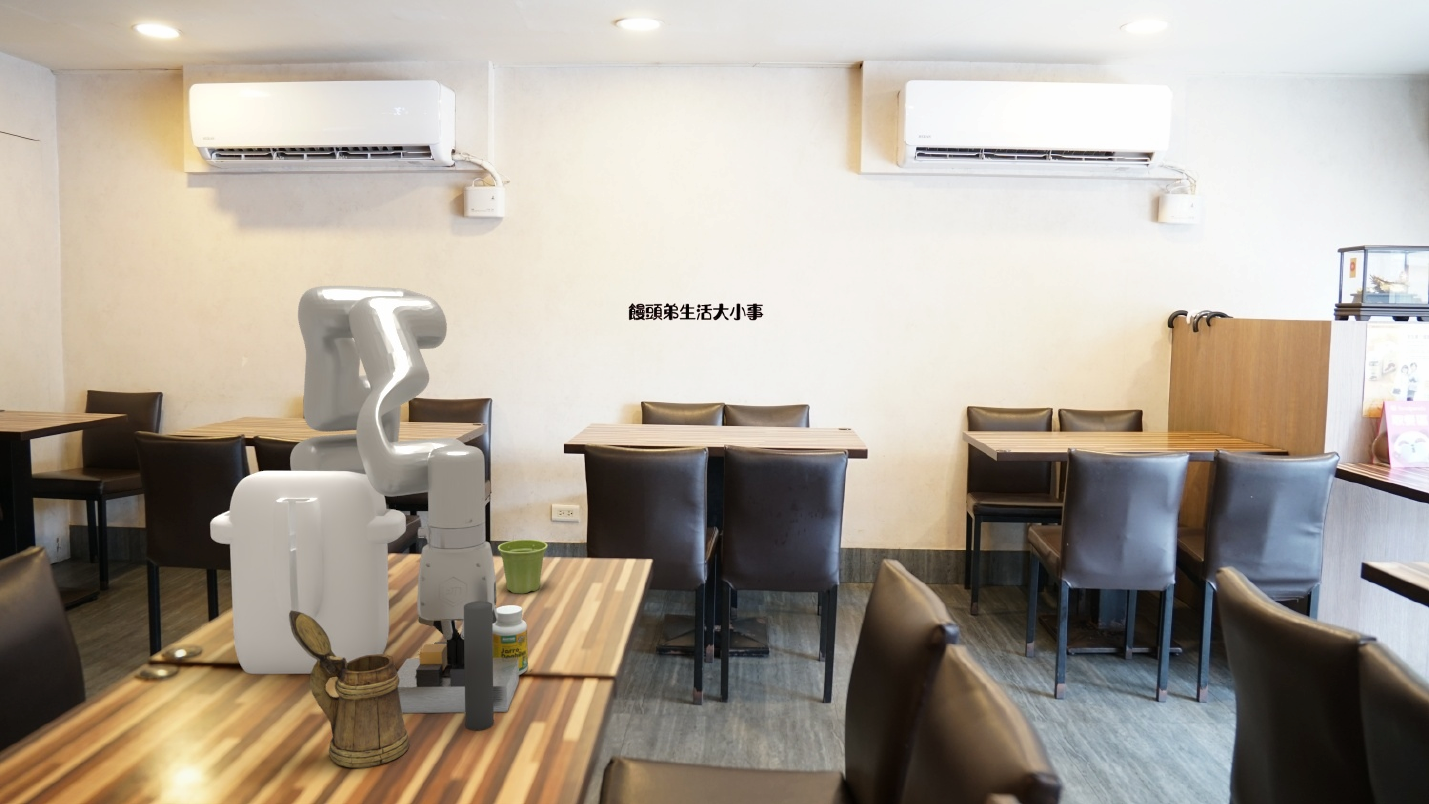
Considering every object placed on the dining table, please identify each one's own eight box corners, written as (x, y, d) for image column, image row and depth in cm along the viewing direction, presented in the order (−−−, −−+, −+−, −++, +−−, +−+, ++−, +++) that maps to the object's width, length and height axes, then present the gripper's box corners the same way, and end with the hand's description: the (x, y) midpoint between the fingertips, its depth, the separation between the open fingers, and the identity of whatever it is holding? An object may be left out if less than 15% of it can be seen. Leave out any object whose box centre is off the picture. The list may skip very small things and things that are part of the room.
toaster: (198, 683, 129) (189, 478, 126) (235, 654, 140) (227, 464, 137) (392, 681, 131) (387, 478, 128) (412, 652, 142) (409, 465, 139)
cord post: (462, 730, 116) (460, 610, 114) (468, 717, 119) (466, 601, 118) (490, 730, 116) (489, 610, 114) (495, 717, 120) (494, 601, 118)
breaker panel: (386, 713, 120) (385, 670, 120) (407, 682, 130) (406, 642, 130) (507, 711, 121) (506, 668, 121) (518, 681, 131) (518, 641, 131)
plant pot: (542, 597, 170) (542, 552, 169) (492, 596, 170) (492, 551, 169) (551, 582, 179) (551, 540, 178) (505, 581, 179) (504, 539, 178)
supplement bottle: (520, 661, 139) (519, 601, 138) (533, 673, 134) (532, 611, 133) (486, 668, 136) (485, 607, 135) (498, 680, 131) (497, 617, 130)
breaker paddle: (419, 673, 124) (419, 652, 123) (425, 664, 127) (425, 643, 126) (441, 672, 124) (441, 651, 124) (447, 664, 127) (446, 643, 127)
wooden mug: (306, 736, 114) (301, 598, 112) (416, 732, 115) (413, 596, 113) (280, 772, 105) (274, 623, 103) (399, 767, 106) (396, 620, 105)
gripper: (394, 542, 119) (396, 675, 121) (507, 542, 120) (508, 674, 122) (409, 529, 127) (412, 654, 129) (516, 529, 128) (517, 653, 130)
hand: (459, 663), depth 125 cm, fingers closed
